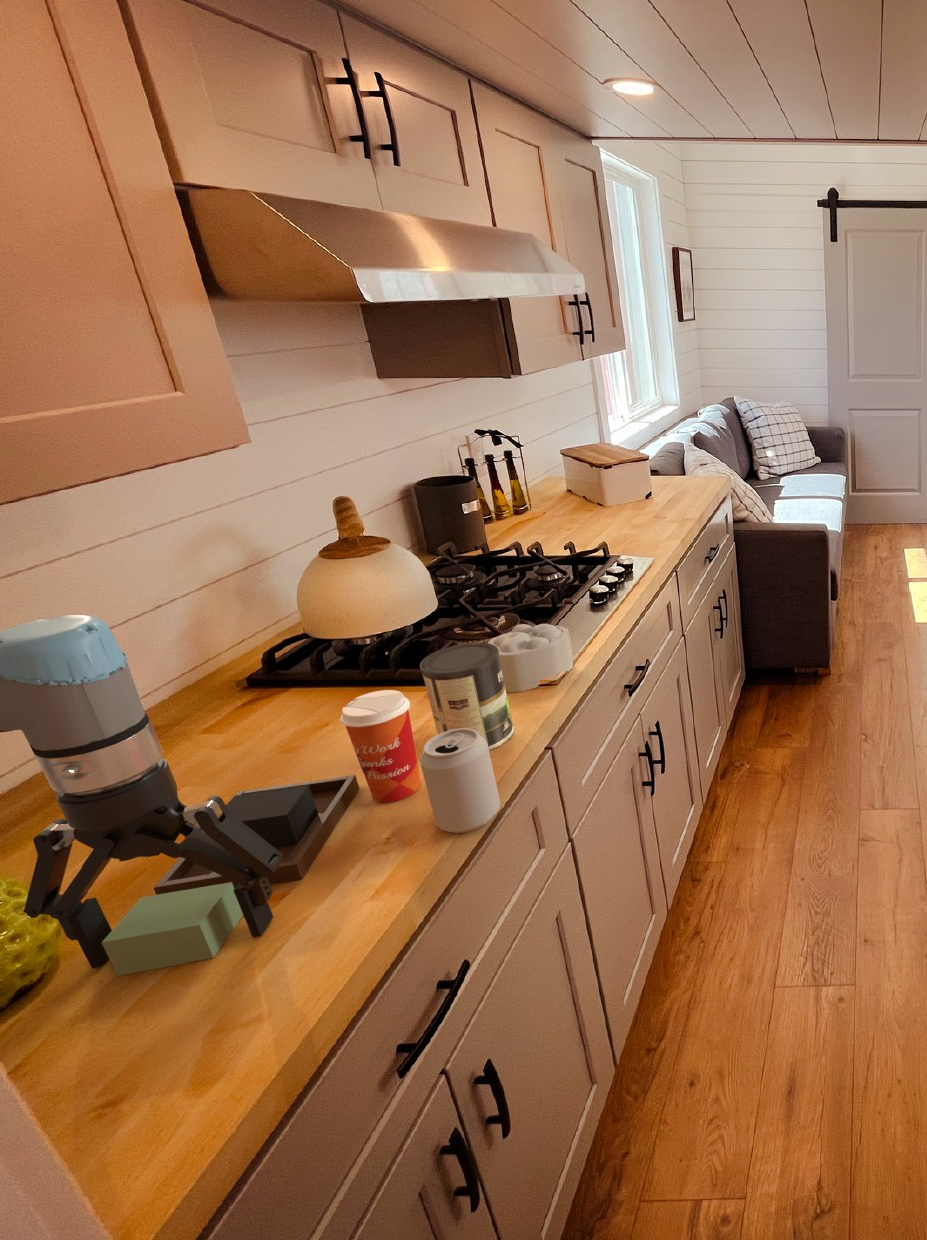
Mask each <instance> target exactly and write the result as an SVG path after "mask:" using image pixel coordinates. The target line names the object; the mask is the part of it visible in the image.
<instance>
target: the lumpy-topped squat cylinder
mask: <svg viewBox="0 0 927 1240" xmlns="http://www.w3.org/2000/svg"><path fill="white" fill-rule="evenodd" d="M487 643H488V644H492V645H494V646H496V647H497V648H498V650H499V660H500V665H501V670H502V675H503V679H504V684H505V689H506V693H510V694H511V693H522V692H525V691H529V690H533V689H536V687H537V688H540V687H539V686H538V685H540V684H539V682H540V680H541V679H543V678H545V677H548V676H550V675H553V674H556V673H558V672H561V671H570V670H571V668H572V666H573V660H574V655H573V649H572V643H571V636H570V631H569V629H568V628H567V627H565V626H562V625H552V624H549V623H540V624H538V625H534V626H532V625H529V624H527V623H526V624H525V623H520V624H517V625H516V626H514V627H513V628H512V629H511V631H510V632H507V633H503V634H500V635H498V636H495V637H493V638H492V639H490V640H489V641H488V642H487ZM571 671H572V670H571ZM571 671H570V672H571Z"/></svg>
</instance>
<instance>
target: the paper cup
mask: <svg viewBox="0 0 927 1240" xmlns="http://www.w3.org/2000/svg"><path fill="white" fill-rule="evenodd" d="M410 708H411V702H410V699H408V698H407V697H406V696H404V694H403V693H402V692H401V691H399V690H395V689H384V690H376V691H372V692H368V693H364V694H361V695H359V696H357V697H355V698H354V699H353V700H350V702H348V703H347V704H346V705H345V706H343V708H342V710H341V715H340V719H339V721H340V723H341V724H342V725H343V726H344V727H345V729H346V731H347V734H348V737H349V739H350V742H351V744H352V748H353V750H354V753H355V755H356V757H357V761H358V763H359V765H360V768H361V771H362V774H363V776H364V778H365V780H366V783H367V786H368V789H369V791H370V794H371V795H372V797H373V799H374V801H376V802H378V803H380V804H381V803H383V804H387V803H395V802H399V801H401V800H404V799H406V798H408V797H410V796H411V795H413V794H415V793H416V792H417V791H418V790H419V789H420V787H421V775H420V769H419V762H418V756H417V752H416V745H415V740H414V734H413V733H414V732H413V728H412V723H411V717H410V712H409V710H410Z"/></svg>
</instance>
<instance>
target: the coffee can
mask: <svg viewBox="0 0 927 1240" xmlns="http://www.w3.org/2000/svg"><path fill="white" fill-rule="evenodd" d="M419 670H420V672H421V673H422V677H423V681H424V685H425V689H426V692H427V698H428V702H429V705H430V708H431V709H430V710H431V713H432V717H433V721H434V725H435V728H436V733H437V735H438V734H441V733H443V732H446V731H449V730H453V729H460V728H469V729H474V730H476V731H477V732H479V735H480V736H481V737H482V738H484V739H485V740H486V741H487V744H488V749H489V751H491V750H494V749H496V748H498V747H500V746H501V745H503V744H505V743H506V742H507V741H508V740H509V739H511V737H512V736H513V734H514V732H515V726H514V723H513V719H512V714H511V709H510V706H509V701H508V700H509V699H508V695H507V692H506V689H505V684H504V679H503V675H502V670H501V665H500V660H499V650H498V648H497V647H496V646H494V645H492V644H488V642H465V643H461V644H455V645H451V646H447V647H445V648H441V649H439V650H437V651H434V652H433V653H430V654H428V655H427V656H426V657H424V658H423V659H422V661H420V664H419Z"/></svg>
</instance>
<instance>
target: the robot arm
mask: <svg viewBox="0 0 927 1240" xmlns="http://www.w3.org/2000/svg"><path fill="white" fill-rule="evenodd" d="M13 731H22V734H23V735H24V737H25V739H26V741H27V743H28V744H29V747H30V749H31V751H32V753H33V754H34V756H35V757H36V760H37V761H38V764H39V766H40V768H41V770H42V772H43V774H44V775H45V778H46V780H47V783H48V785H49V787H50V789H51V790H52V791H54V792H57V793H56V794H55V800H56V802H57V804H58V806H59V808H60V811H61V812H62V814H63V816H64V818H56V819H54V820H53V821H52V822H51V823H49V824H48V825H47V826H46V827H45V828H44V829H42V830H41V831H40V832H39V833H38V834H36V835H35V836H34V837H33V840H32V842H33V844H34V848H35V851H36V854H37V857H36V861H35V864H34V865H35V866H34V868H33V869H34V870H33V874H32V876H31V881H30V885H29V889H28V892H27V896H26V901H25V903H24V904H25V905H24V908H23V912H25V913H27V915H28V916H30V917H31V918H30V919H35V918H38V917H40V915H43V916H50V917H51V918H52V919H54V920H57V921H58V923H59V925H60V926H61V928H62V930H63V932H64V934H65V936H66V938H67V939H69V940H70V941H77V942H78V944H79V946H80V949H81V950H82V953H83V955H84V956H85V958H86V960H87V962H88V964H89V966H90V967H91V969H96V968H102V967H103V966H104V964H105V963H106V962H107V961H108V960H109V957H108V955H107V953H106V951H105V949H104V947H103V945H102V941H103V940H104V939H105V938H106V937H107V936H108V935H109V933H110V932H111V931H112V930H113V929H112V928H111V925H110V923H109V922H108V919H107V917H106V915H105V914H104V911H103V909H102V908H101V905H100V903H99V901H98V899H97V897H90V898H86V899H85V900H83V899H84V898H85V897H86V896H87V895H88V894H89V890H90V889H91V888H92V886H93V885H94V884H95V882H96V881H97V879H98V878H99V877H100V875H101V874H102V872H103V871H104V869H106V866H107V865H108V864H109V862H110V861H111V860H112V859H114V860H119V862H126V861H131V860H134V859H136V858H151V857H159V856H160V855H161V854H163V855H165V856H167V857H169V858H172V859H179V858H180V857H182V858H184V859H187V860H189V861H191V862H193V863H195V864H198V865H200V866H202V867H204V868H206V869H209V870H211V871H213V872H215V873H217V874H220V875H222V876H224V877H226V878H228V879H231V880H233V881H235V882H237V883H238V884H237V886H236V887H235V889H234V890H233V891H234V893H235V896H236V898H237V901H238V903H239V905H240V908H241V910H242V913H243V919H244V920H245V923H246V925H247V928H248V931H249V932H250V935H251V938H253V939H255V938H259V937H262V935H263V934H264V932H265V931H266V929H267V928H268V926H269V924H270V923H271V922H272V920H273V918H274V914H273V911H272V910H271V909H272V908H271V906H270V904H269V901H270V899H271V897H273V896H272V895H273V888H272V885H270V883H269V880H268V878H267V877H270V876H271V875H272V874H273V873H274V871H275V870H276V869H277V867H278V866H279V864H280V863H281V861H282V860H283V858H284V855H283V854H282V853H281V852H280V851H278V850H277V849H276V848H275V847H273V846H272V845H271V844H269V843H268V842H267V841H266V840H264V839H263V838H262V837H261V836H259V835H258V834H257V833H255V832H254V831H253V830H252V829H250V828H249V827H248V826H247V825H245V824H244V823H243V822H241V821H240V820H239V819H238V818H236V817H235V816H234V815H233V814H231V813H230V812H229V810H228V808H227V807H226V805H227V804H226V803H225V802H224V800H223V798H222V797H220V796H218V795H211V796H209V798H207V799H206V801H204V802H202V803H198V804H194V805H190V806H187V805H185V804H184V803H183V802H181V800H180V799H179V795H178V784H177V782H176V780H175V777H174V775H173V772H172V769H171V767H170V765H169V762H168V759H166V758H165V757H163V756H164V749H163V747H162V745H161V742H160V740H159V737H158V735H157V733H156V731H155V729H154V726H153V724H152V721H151V719H150V717H149V716H148V713H147V710H146V709H145V708H144V706H143V704H142V701H141V699H140V696H139V692H138V690H137V687H136V683H135V681H134V678H133V675H132V672H131V669H130V666H129V664H128V657H127V655H126V653H125V651H123V650H122V648H121V647H120V644H119V643H118V641H117V639H116V637H115V635H114V633H113V631H112V630H111V628H110V626H109V624H108V623H107V622H105V620H102V619H101V618H99V617H96V616H94V615H88V614H87V615H85V614H69V615H60V616H57V617H53V618H42V619H37V620H33V621H28V622H24V623H21V624H17V625H14V626H11V627H9V628H6V629H4V630H1V631H0V733H8V732H13ZM203 831H204V833H203ZM180 835H182V836H184V839H183V840H182V841H180V843H178V842H176V841H177V839H178V837H179V836H180ZM75 840H76V841H77V842H79V843H81V844H82V845H85V846H87V847H89V848H90V849H92V851H91V852H90V854H89V855H88V857H87V858H86V859H85V860H84V862H83V863H82V865H81V868H80V869H79V870H78V872H77V874H76V875H75V876H74V878H73V879H72V880H71V882H70V883H69V885H68V886H67V888H66V889H65V890H64V892H63V893H62V894H60V892H61V888H62V884H63V880H64V877H65V873H66V869H67V866H68V862H69V858H70V855H71V851H72V847H73V843H74V842H75ZM246 869H248V870H247V871H246ZM82 900H83V902H82Z"/></svg>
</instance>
